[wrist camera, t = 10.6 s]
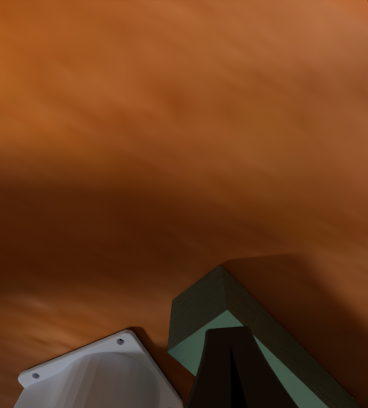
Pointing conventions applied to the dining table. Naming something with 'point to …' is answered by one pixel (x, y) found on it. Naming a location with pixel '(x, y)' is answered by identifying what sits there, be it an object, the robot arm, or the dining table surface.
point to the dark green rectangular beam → (263, 333)
